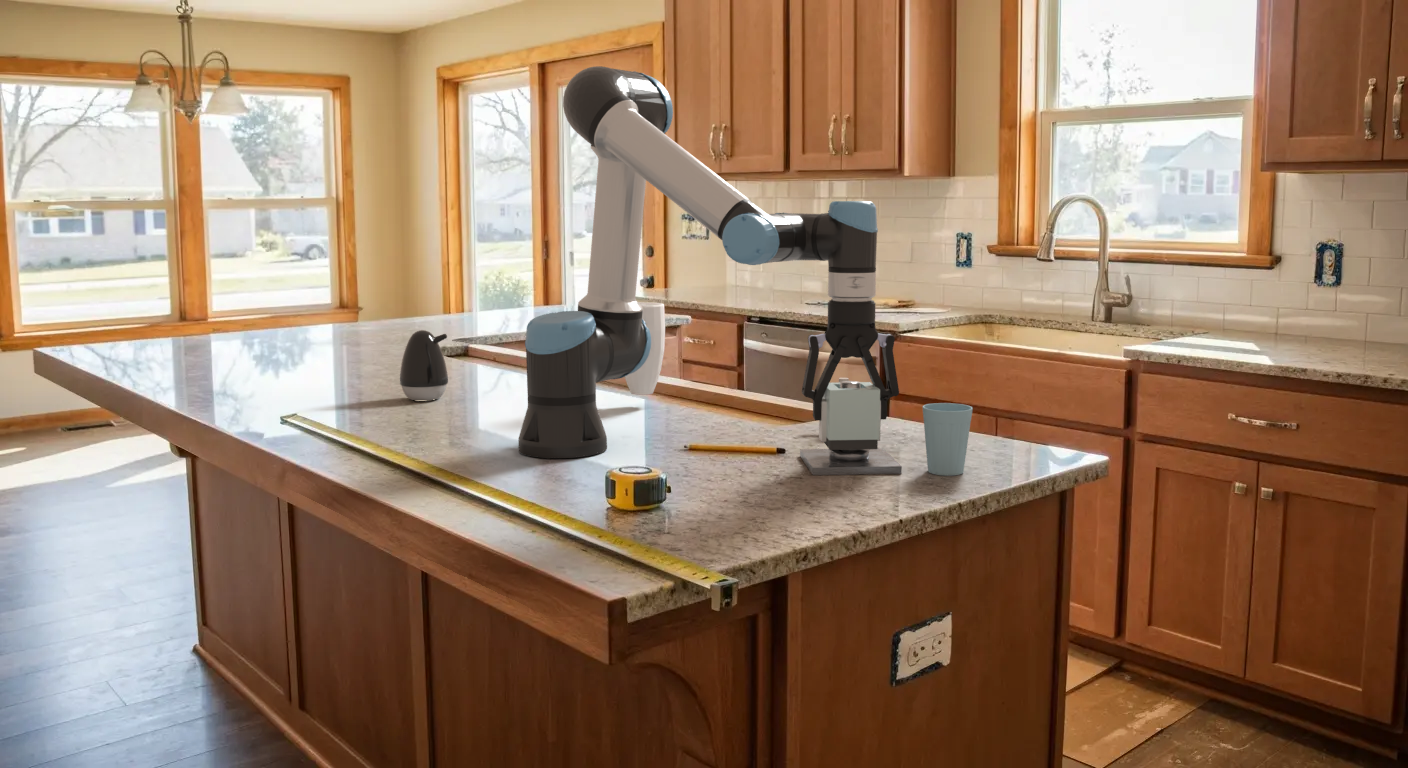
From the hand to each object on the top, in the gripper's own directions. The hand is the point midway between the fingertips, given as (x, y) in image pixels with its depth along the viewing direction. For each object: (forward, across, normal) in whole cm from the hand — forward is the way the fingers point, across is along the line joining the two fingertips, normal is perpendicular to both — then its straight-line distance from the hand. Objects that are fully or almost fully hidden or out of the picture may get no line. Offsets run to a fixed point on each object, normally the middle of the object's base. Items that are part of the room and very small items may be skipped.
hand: (849, 439), depth 191 cm
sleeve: (-1, 0, 0) cm, 1 cm away
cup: (+4, +14, -6) cm, 16 cm away
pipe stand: (+4, 0, 0) cm, 4 cm away
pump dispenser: (+4, -80, +71) cm, 107 cm away
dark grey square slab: (0, 0, 0) cm, 0 cm away
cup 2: (+4, -33, +58) cm, 67 cm away
